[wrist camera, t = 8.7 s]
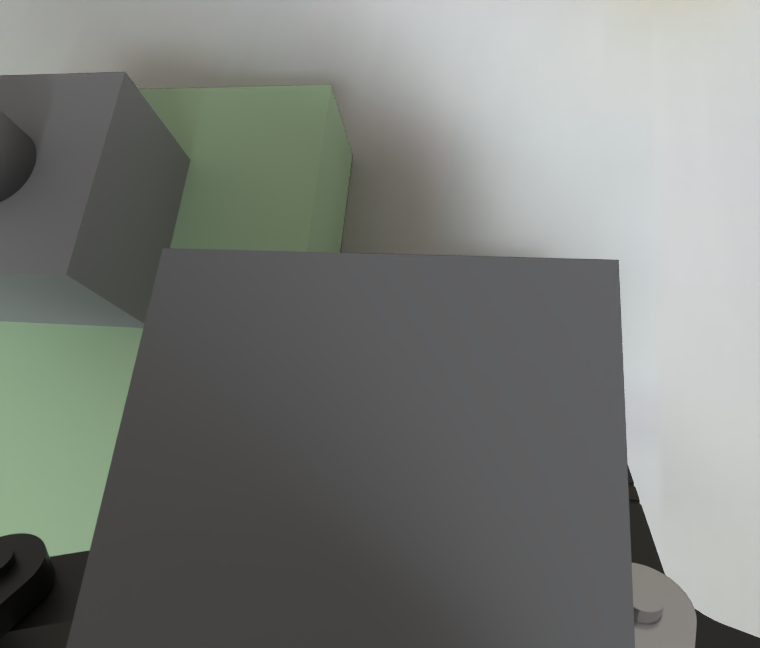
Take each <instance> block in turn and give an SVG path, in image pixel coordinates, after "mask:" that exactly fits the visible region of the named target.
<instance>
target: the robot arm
mask: <svg viewBox="0 0 760 648" xmlns="http://www.w3.org/2000/svg"><path fill="white" fill-rule="evenodd" d="M627 468H628V491H629V514H630V537H631V561H632V584H633V607H634V630H635V648H760V638H758V637H756V636H753V635H750V634H748V633H745V632H742V631H740V630H737V629H734V628H732V627H729V626H726V625H724V624H721V623H719V622H717V621H714V620H713V619H711V618H709V617H707V616H705V615H703V614H702V613H700V612H699V611H697V610H696V609H694V607H693V604H692V602H691V600H690V599H689V597H688V596H687V594H686V593H685V592H684V591H683V590H682V589H681V588H680V586H679V585H677V584H676V583H675V582H674V581H673V580H672V579H670V578H669V577H667V576H666V575H665V573H664V571H663V568H662V565H661V562H660V559H659V556H658V553H657V550H656V547H655V544H654V541H653V538H652V535H651V532H650V529H649V526H648V523H647V521H646V518H645V515H644V512H643V509H642V506H641V505H640V503H639V497H638V494H637V491H636V488H635V487H634V482H633V479H632V476H631V473H630V470H629V467H628V464H627ZM89 551H90V550H89ZM89 551H82V552H76V553H70V554H63V555H57V556H51V557H49V554H48V552H47V549H46V546H45V544H44V542H43V541H42V540H41V539H40V538H39V537H37V536H35V535H32V534H26V533H17V534H10V535H5V536H1V537H0V648H66V647H67V642H68V638H69V634H70V630H71V626H72V622H73V618H74V613H75V609H76V605H77V601H78V597H79V593H80V589H81V584H82V580H83V576H84V572H85V568H86V564H87V560H88V555H89Z"/></svg>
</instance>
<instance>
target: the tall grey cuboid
mask: <svg viewBox="0 0 760 648" xmlns="http://www.w3.org/2000/svg"><path fill="white" fill-rule="evenodd" d="M66 648H635V630H634V607H633V584H632V561H631V537H630V514H629V491H628V468H627V445H626V421H625V398H624V375H623V352H622V328H621V305H620V282H619V260H604V259H566V258H527V257H489V256H450V255H412V254H374V253H335V252H297V251H258V250H220V249H182V248H163V249H162V253H161V257H160V261H159V266H158V270H157V274H156V278H155V282H154V286H153V290H152V295H151V299H150V303H149V307H148V311H147V315H146V319H145V324H144V328H143V332H142V336H141V340H140V344H139V348H138V353H137V357H136V361H135V365H134V369H133V373H132V377H131V382H130V386H129V390H128V394H127V398H126V402H125V406H124V411H123V415H122V419H121V423H120V427H119V431H118V435H117V440H116V444H115V448H114V452H113V456H112V460H111V464H110V468H109V473H108V477H107V481H106V485H105V489H104V493H103V497H102V502H101V506H100V510H99V514H98V518H97V522H96V526H95V531H94V535H93V539H92V543H91V547H90V551H89V555H88V560H87V564H86V568H85V572H84V576H83V580H82V584H81V589H80V593H79V597H78V601H77V605H76V609H75V613H74V618H73V622H72V626H71V630H70V634H69V638H68V642H67V647H66Z"/></svg>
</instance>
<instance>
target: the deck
mask: <svg viewBox="0 0 760 648" xmlns="http://www.w3.org/2000/svg"><path fill="white" fill-rule="evenodd" d="M352 156H353V155H352V152H351V148H350V145H349V142H348V138H347V135H346V132H345V128H344V125H343V122H342V118H341V115H340V112H339V108H338V105H337V102H336V98H335V95H334V92H333V88H332V85H331V84H328V85H286V86H244V87H202V88H160V89H137V87H136V86H135V85H134V83H133V82H132V81H131V79H130V78H129V77H128V75H127V74H126V73H125V72H105V73H71V74H37V75H2V76H0V537H1V536H5V535H10V534H17V533H26V534H32V535H35V536H37V537H39V538H40V539H41V540H42V541H43V542H44V544H45V546H46V549H47V552H48V554H49V557H51V556H57V555H63V554H70V553H76V552H82V551H89V550H90V547H91V543H92V539H93V535H94V531H95V526H96V522H97V518H98V514H99V510H100V506H101V502H102V497H103V493H104V489H105V485H106V481H107V477H108V473H109V468H110V464H111V460H112V456H113V452H114V448H115V444H116V440H117V435H118V431H119V427H120V423H121V419H122V415H123V411H124V406H125V402H126V398H127V394H128V390H129V386H130V382H131V377H132V373H133V369H134V365H135V361H136V357H137V353H138V348H139V344H140V340H141V336H142V332H143V328H144V324H145V319H146V315H147V311H148V307H149V303H150V299H151V295H152V290H153V286H154V282H155V278H156V274H157V270H158V266H159V261H160V257H161V253H162V249H163V248H182V249H220V250H258V251H297V252H335V253H340V251H341V243H342V235H343V227H344V219H345V211H346V203H347V195H348V188H349V180H350V172H351V164H352Z"/></svg>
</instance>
